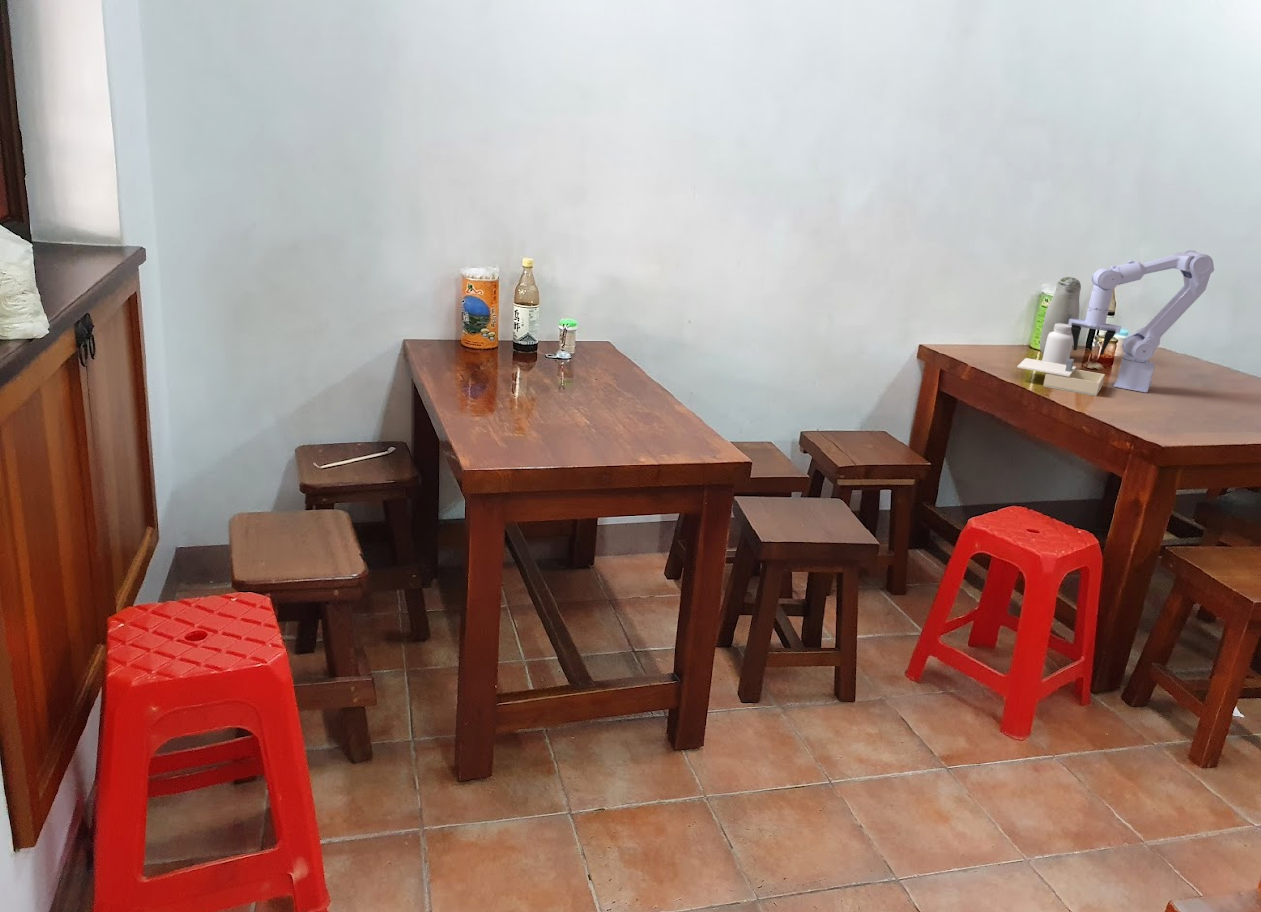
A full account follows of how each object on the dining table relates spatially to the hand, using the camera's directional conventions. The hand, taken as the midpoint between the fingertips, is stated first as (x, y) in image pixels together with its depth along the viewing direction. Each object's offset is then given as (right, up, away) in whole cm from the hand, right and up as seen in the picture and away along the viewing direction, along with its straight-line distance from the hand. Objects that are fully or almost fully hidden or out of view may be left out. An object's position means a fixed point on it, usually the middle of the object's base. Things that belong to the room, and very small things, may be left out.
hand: (1088, 352), depth 295 cm
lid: (-13, -5, +1) cm, 13 cm away
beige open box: (-6, -11, -2) cm, 12 cm away
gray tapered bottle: (+4, +1, +34) cm, 34 cm away
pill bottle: (-3, -4, +18) cm, 19 cm away
